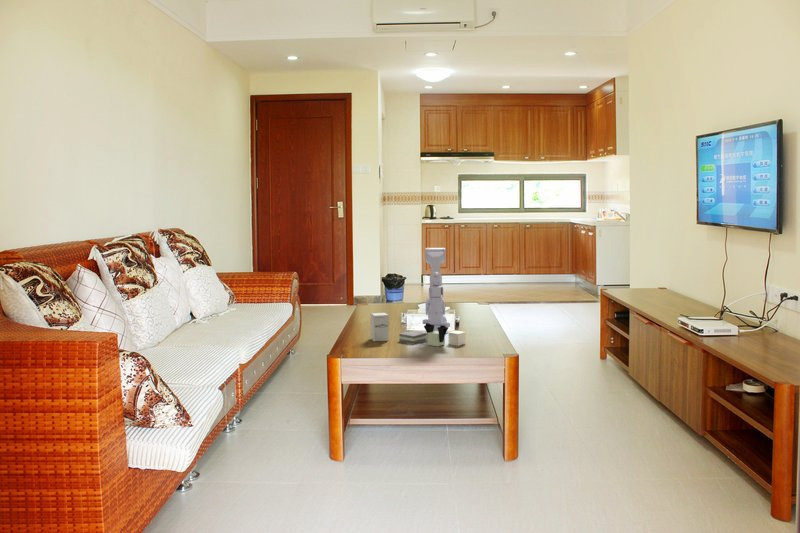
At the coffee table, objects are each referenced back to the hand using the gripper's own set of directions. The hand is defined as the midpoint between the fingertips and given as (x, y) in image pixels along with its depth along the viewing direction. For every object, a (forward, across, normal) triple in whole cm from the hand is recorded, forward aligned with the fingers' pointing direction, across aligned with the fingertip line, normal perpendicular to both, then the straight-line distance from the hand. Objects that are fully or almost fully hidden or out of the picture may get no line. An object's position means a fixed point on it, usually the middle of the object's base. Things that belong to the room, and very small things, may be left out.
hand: (436, 341), depth 314 cm
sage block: (+2, 0, 0) cm, 2 cm away
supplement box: (+2, -28, -8) cm, 29 cm away
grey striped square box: (+2, -14, 0) cm, 14 cm away
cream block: (+2, +6, +8) cm, 10 cm away
